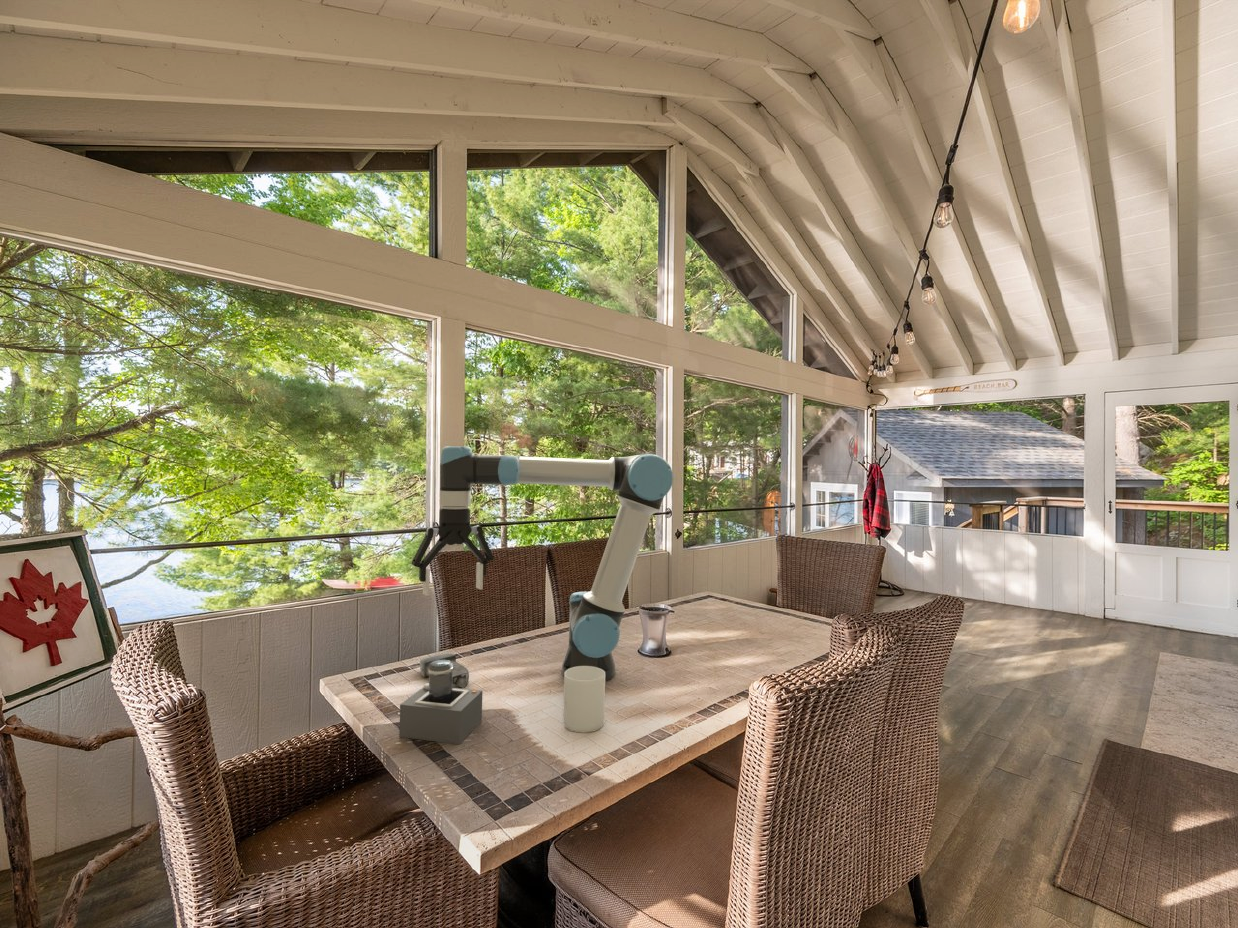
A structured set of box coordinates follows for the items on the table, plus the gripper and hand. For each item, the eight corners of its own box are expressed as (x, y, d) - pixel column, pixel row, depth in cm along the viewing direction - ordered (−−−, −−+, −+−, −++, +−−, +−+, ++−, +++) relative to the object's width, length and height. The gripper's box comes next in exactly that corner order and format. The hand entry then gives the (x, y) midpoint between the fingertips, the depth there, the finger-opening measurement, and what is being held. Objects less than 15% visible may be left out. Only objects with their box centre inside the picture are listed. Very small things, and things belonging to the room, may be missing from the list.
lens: (457, 704, 127) (457, 659, 127) (445, 714, 122) (445, 667, 122) (435, 702, 128) (436, 657, 128) (423, 712, 123) (424, 666, 123)
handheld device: (447, 696, 143) (447, 677, 143) (415, 673, 158) (415, 657, 158) (481, 686, 150) (481, 669, 150) (447, 665, 165) (447, 649, 165)
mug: (588, 737, 123) (589, 684, 123) (546, 723, 129) (547, 672, 129) (612, 721, 131) (613, 671, 131) (571, 708, 137) (572, 660, 137)
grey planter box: (481, 720, 130) (482, 687, 130) (459, 744, 119) (460, 707, 119) (425, 714, 132) (426, 681, 132) (399, 736, 121) (400, 700, 121)
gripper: (496, 505, 152) (494, 583, 152) (399, 507, 138) (398, 593, 138) (507, 507, 146) (505, 588, 146) (407, 510, 132) (405, 600, 132)
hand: (453, 591), depth 142 cm, fingers open, 13 cm apart
